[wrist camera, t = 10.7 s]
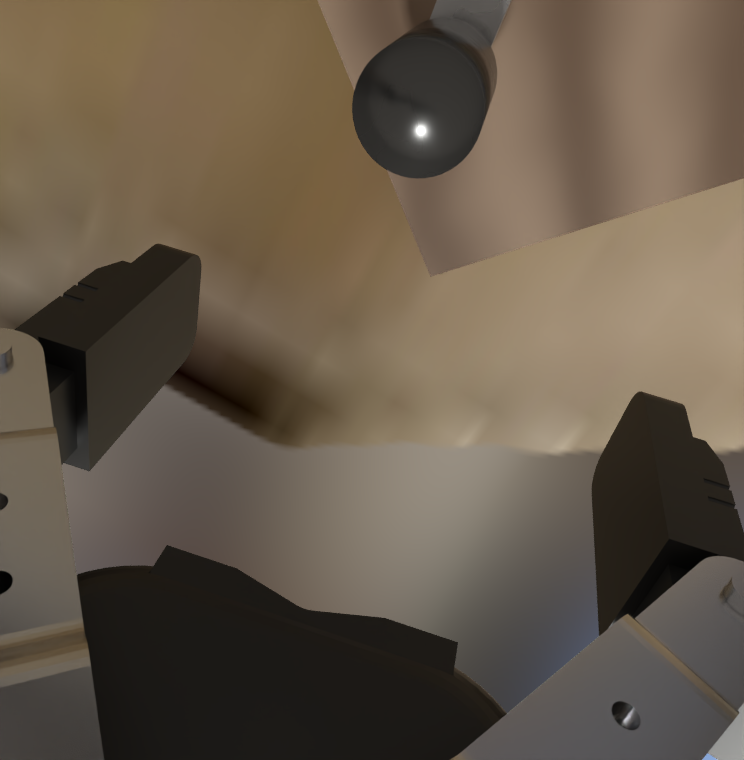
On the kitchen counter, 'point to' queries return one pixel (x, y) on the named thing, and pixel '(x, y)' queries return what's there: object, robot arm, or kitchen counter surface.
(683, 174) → the press base
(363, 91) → the lever
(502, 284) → the kitchen counter surface
